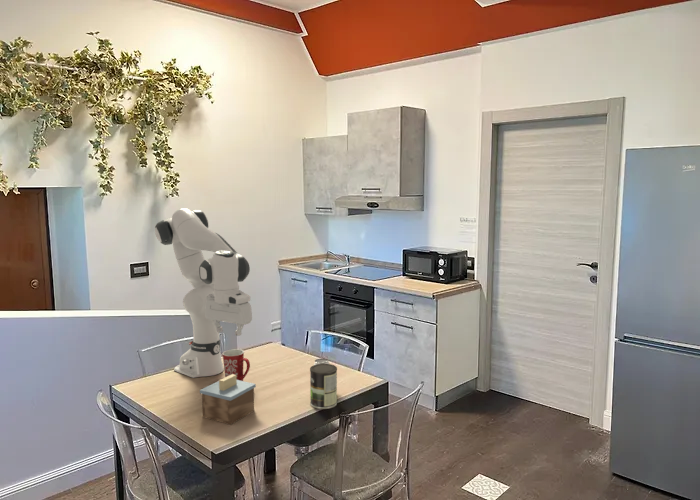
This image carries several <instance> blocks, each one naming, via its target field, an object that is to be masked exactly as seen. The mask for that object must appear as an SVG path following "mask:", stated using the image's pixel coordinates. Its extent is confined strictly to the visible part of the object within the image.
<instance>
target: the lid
mask: <svg viewBox="0 0 700 500" xmlns="http://www.w3.org/2000/svg"><path fill="white" fill-rule="evenodd" d="M256 386H257V385H256V383H254V382H247V381H244V380H243V381H240V380H236V375H234V374H231V375H229V376H227V377H225V376H224V377H223V378H222V379H219V380H218V381H216V382H214V383H212V384H210V385H206V386H205V387H203V388H202V389H199V394H201V395H202V394H205V395H209V396H213V397H217V398H221V399H225V400H229V401H231V400H233V399H235V398H236V397H238V396H240V395H242V394H244V393H246V392H248V391H249V390H251V389H253V388H254V389H255V388H256Z"/></svg>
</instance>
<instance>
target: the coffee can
mask: <svg viewBox="0 0 700 500" xmlns="http://www.w3.org/2000/svg"><path fill="white" fill-rule="evenodd" d="M309 372H310V373H309V374H310V377H309V378H310V381H309V382H310V389H309V390H310V395H309V396H310V397H309V398H310V406H311V407H312V408H315V409H318V410H327V409H329V410H330V409H332V408H335V407H336V406H337V403H338V401H337V400H338V399H337V396H338V393H337V388H338V387H337V385H338V384H337V383H338V367H337V365H334V364H332V363H329V364H317V365H314V364H313V365H312V366H310V368H309Z"/></svg>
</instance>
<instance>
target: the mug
mask: <svg viewBox="0 0 700 500" xmlns="http://www.w3.org/2000/svg"><path fill="white" fill-rule="evenodd" d="M244 354H245V351H244V350H243V349H237V348H234V349H228V350H224V351H222V353H221V356H222V358H223V361H222V363H223V368H224V370H223V372H224V378H225V377H227V376H229V375H231V374H234V375H236V380H240V381H244V379H245V377H246V376H247V375H248V373H249V371H250V368H251V364H250V363H251V362H250V359H249V358H246V357H244V356H245V355H244ZM244 363H245V364H246V369H245V372H244Z"/></svg>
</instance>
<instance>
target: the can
mask: <svg viewBox="0 0 700 500" xmlns="http://www.w3.org/2000/svg"><path fill="white" fill-rule="evenodd" d="M317 364H330V361H329V359H327V358H316V359H315V360H314V363H313V365H317Z"/></svg>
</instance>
